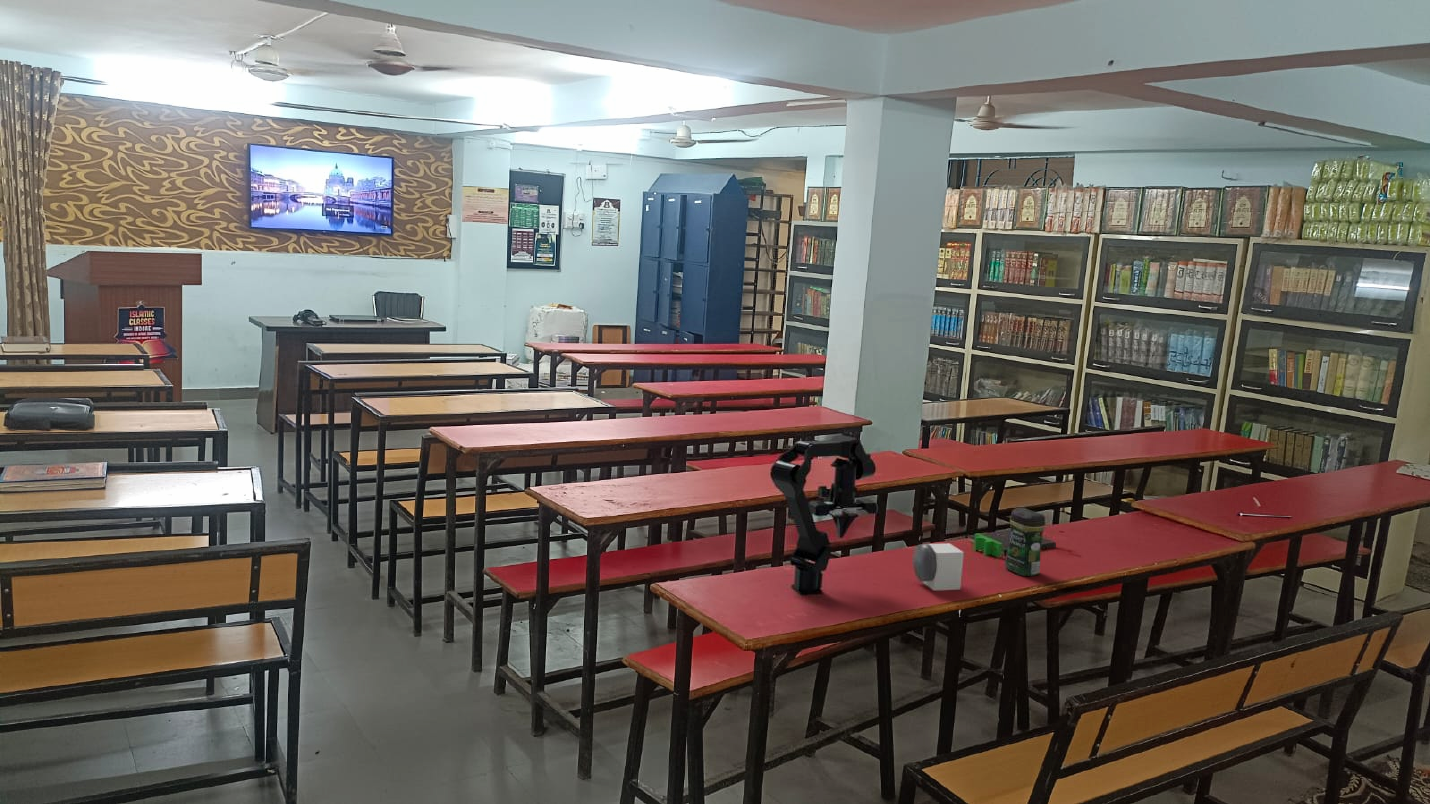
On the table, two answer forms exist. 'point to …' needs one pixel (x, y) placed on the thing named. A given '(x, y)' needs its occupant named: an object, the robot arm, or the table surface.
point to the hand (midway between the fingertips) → (840, 537)
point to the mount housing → (947, 567)
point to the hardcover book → (1005, 537)
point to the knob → (924, 562)
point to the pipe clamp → (987, 545)
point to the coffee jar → (1025, 542)
